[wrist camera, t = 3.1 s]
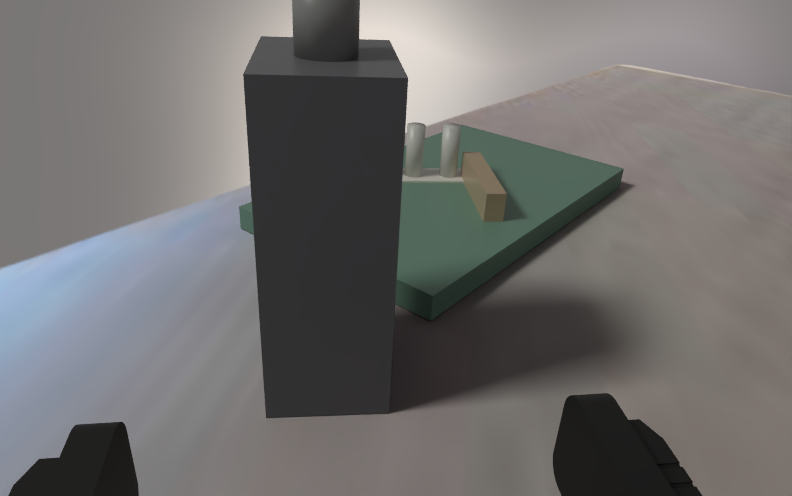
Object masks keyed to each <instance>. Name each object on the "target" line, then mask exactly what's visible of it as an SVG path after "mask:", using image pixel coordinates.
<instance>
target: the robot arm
mask: <svg viewBox="0 0 792 496" xmlns="http://www.w3.org/2000/svg"><path fill="white" fill-rule="evenodd" d="M553 469H554V475H555V480H556V483H557V486H558V488H559V491H560V493H561V495H562V496H702V495H701V493H700V492H699V490H698V489H697V487H694V486H693V484H692V482H693V481H692V480H691V479H690V477H689V476H688V474H687V473H686V471H685V470H684V468H683V467H680V465H679V461H678V460H677V458H676V457H675V455H674V454H673V452H672V451H671V449H670V448H669V446H668V445H667V444H666V442H665V441H664V439H663V438H662V437H660V436H659V435H658V434H657V433H655V432H654V431H653V430H652V429H651V428H649V427H648V426H647V425H646V424H644V423H643V422H642V421H641V420H639V419H637V420H628V419H627V417H626V416H625V414H624V413H623V411H622V410H621V408H620V406H619V405H618V403H617V402H616V400H615V399H614V398H613V397H612V396H611V395H610V394H607V393H604V394H587V395H572V396H569V397H568V398H567V399H566V401H565V404H564V408H563V413H562V417H561V422H560V426H559V430H558V435H557V439H556V444H555V448H554V453H553ZM9 496H139V493H138V482H137V477H136V472H135V468H134V463H133V458H132V453H131V449H130V444H129V439H128V434H127V430H126V427H125V424H124V423H123V422H112V423H96V424H80V425H75V426H74V427H73V429H72V430H71V432H70V434H69V436H68V439H67V441H66V443H65V446H64V448H63V450H62V453H61V455H60V458H47V459H39V460H38V461H37V462H36V463H35V464H34V465H33V466H32V467H31V468H30V469H29V470H28V471H27V472H26V473H25V474H24V475H23V476H22V477H21V478H20V479H19V480H18V481H17V482H16V483H15V484H14V485H13V487H12V489H11V492H10V494H9Z"/></svg>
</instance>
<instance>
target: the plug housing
mask: <svg viewBox="0 0 792 496" xmlns="http://www.w3.org/2000/svg"><path fill="white" fill-rule="evenodd" d="M292 7H293V8H292V10H293V37H263V36H262V37H261V38H260V40H259V42H258V44H257V46H256V48H255V51H254V53H253V55H252V57H251V59H250V61H249V63H248V65H247V68H246V70H245V72H244V74H243V76H244V91H245V105H246V121H247V136H248V150H249V166H250V181H251V197H252V212H253V227H254V242H255V257H256V272H257V287H258V302H259V318H260V333H261V348H262V363H263V378H264V393H265V408H266V418H274V417H302V416H329V415H357V414H385V413H389V408H390V390H391V372H392V354H393V336H394V319H395V301H396V283H397V265H398V247H399V230H400V212H401V194H402V176H403V158H404V140H405V121H406V105H407V104H406V103H407V87H408V77H407V75H406V73H405V71H404V69H403V67H402V65H401V63H400V61H399V59H398V57H397V55H396V53H395V51H394V49H393V47H392V45H391V43H390V41H389V40H360V39H359V9H360V0H292Z"/></svg>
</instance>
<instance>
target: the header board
mask: <svg viewBox="0 0 792 496" xmlns="http://www.w3.org/2000/svg"><path fill="white" fill-rule="evenodd" d="M425 128H426V126H425V125H424V124H421V123H409V124H408V127H407V143H406V146H404V158H403V176H402V194H401V212H400V230H399V247H398V265H397V283H396V301H395V304H397V305H399V306H401V307H403V308H405V309H407V310H409V311H411V312H413V313H416V314H418V315H420V316H422V317H424V318H426V319H428V320H430V321H431V320H433V319H434V318H435V317H437V316H438V315H440V314H441V313H442V312H444V311H445V310H447V309H448V308H450V307H451V306H452V305H454V304H455V303H457V302H458V301H459V300H461V299H462V298H464V297H465V296H466V295H468V294H469V293H471V292H472V291H473V290H475V289H476V288H478V287H479V286H481V285H482V284H483V283H485V282H486V281H488V280H489V279H490V278H492V277H493V276H495V275H496V274H497V273H499V272H500V271H502V270H503V269H504V268H506V267H507V266H509V265H510V264H511V263H513V262H514V261H516V260H517V259H519V258H520V257H521V256H523V255H524V254H526V253H527V252H528V251H530V250H531V249H533V248H534V247H535V246H537V245H538V244H540V243H541V242H542V241H544V240H545V239H547V238H548V237H550V236H551V235H552V234H554V233H555V232H557V231H558V230H559V229H561V228H562V227H564V226H565V225H566V224H568V223H569V222H571V221H572V220H573V219H575V218H576V217H578V216H579V215H580V214H582V213H583V212H585V211H586V210H588V209H589V208H590V207H592V206H593V205H595V204H596V203H597V202H599V201H600V200H602V199H603V198H604V197H606V196H607V195H609V194H610V193H611V192H613V191H614V190H616V189H617V188H619V187H620V183H621V179H622V174H623V170H624V169H623V168H619V167H615V166H612V165H608V164H604V163H601V162H597V161H593V160H590V159H586V158H582V157H579V156H575V155H571V154H568V153H564V152H560V151H557V150H553V149H549V148H545V147H542V146H538V145H534V144H531V143H527V142H523V141H520V140H516V139H512V138H509V137H505V136H501V135H498V134H494V133H490V132H487V131H483V130H479V129H475V128H472V127H468V126H464V125H459V124H455V123H446V124H444V125H443V132H442V133H439V134H436V135H434V136H431V137H428V138H425ZM239 210H240V223H241V228H242V229H244V230H246V231H248V232H250V233H252V234H254V227H253V212H252V202H251V203H248V204H245V205H242V206H240V207H239Z"/></svg>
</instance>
